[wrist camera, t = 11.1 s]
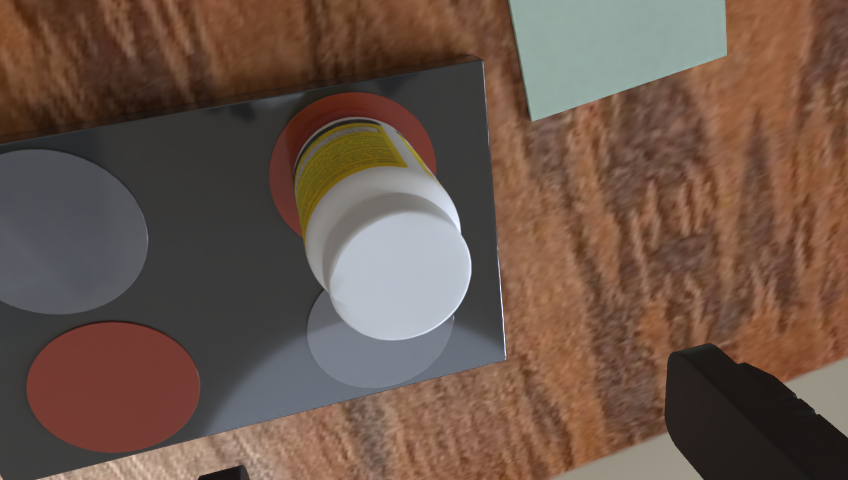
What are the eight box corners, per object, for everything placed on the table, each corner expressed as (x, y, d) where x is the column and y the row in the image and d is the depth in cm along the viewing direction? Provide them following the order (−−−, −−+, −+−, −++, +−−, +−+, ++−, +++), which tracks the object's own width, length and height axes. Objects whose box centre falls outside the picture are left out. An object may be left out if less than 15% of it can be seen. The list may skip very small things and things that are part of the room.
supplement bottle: (270, 203, 24) (280, 320, 17) (327, 91, 23) (364, 165, 16) (380, 249, 26) (432, 373, 19) (438, 149, 25) (517, 238, 18)
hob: (-153, 162, 22) (-175, 175, 21) (474, 53, 25) (484, 59, 24) (16, 466, 28) (5, 489, 27) (498, 346, 32) (507, 361, 30)
